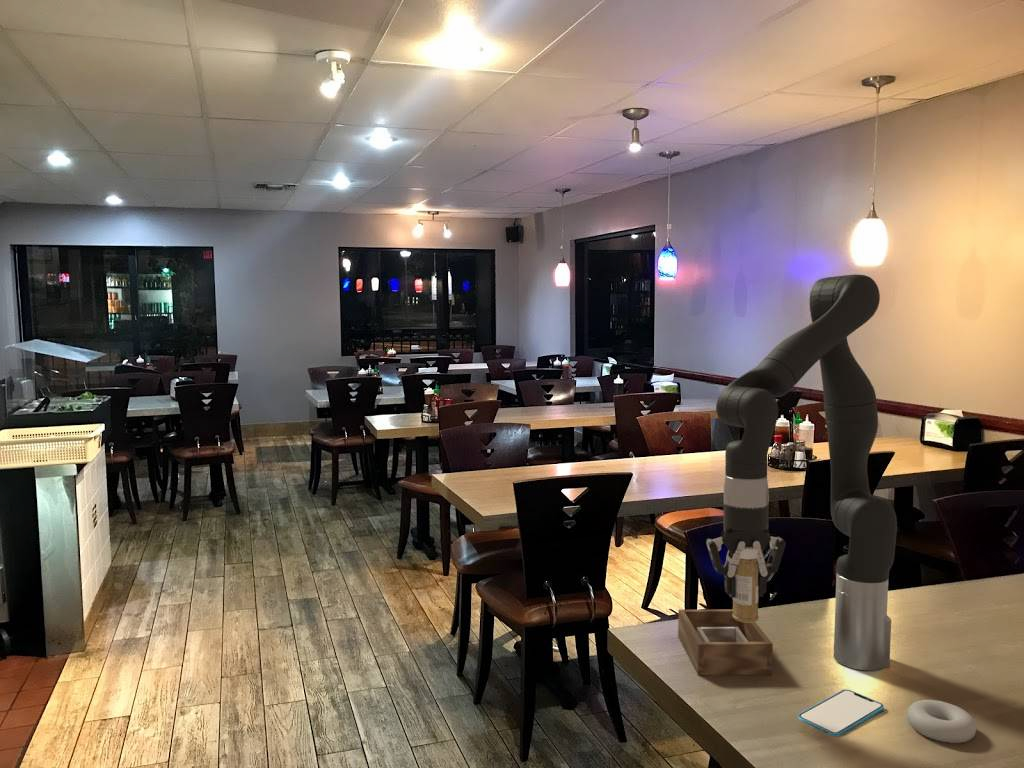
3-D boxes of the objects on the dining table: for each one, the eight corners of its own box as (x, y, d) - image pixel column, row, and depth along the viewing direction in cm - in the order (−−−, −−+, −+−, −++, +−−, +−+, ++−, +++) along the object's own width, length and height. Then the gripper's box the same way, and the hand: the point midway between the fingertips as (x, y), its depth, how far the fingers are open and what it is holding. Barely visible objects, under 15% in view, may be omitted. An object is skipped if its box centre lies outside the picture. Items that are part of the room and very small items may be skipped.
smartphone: (795, 715, 130) (845, 688, 139) (795, 722, 130) (845, 694, 139) (836, 735, 124) (886, 705, 132) (836, 742, 124) (886, 711, 133)
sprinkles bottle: (764, 619, 136) (765, 545, 135) (746, 626, 133) (747, 550, 132) (743, 611, 140) (744, 539, 138) (726, 617, 137) (726, 544, 136)
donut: (919, 709, 133) (896, 729, 126) (920, 690, 133) (897, 709, 126) (984, 732, 126) (963, 755, 119) (985, 711, 126) (965, 733, 119)
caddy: (744, 636, 162) (745, 609, 162) (771, 674, 145) (772, 643, 145) (678, 637, 162) (678, 609, 162) (698, 675, 145) (698, 644, 145)
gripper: (778, 494, 138) (777, 587, 140) (699, 496, 138) (699, 589, 140) (794, 505, 131) (793, 602, 132) (710, 507, 131) (710, 604, 132)
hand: (745, 595), depth 136 cm, fingers closed on sprinkles bottle, 4 cm apart
